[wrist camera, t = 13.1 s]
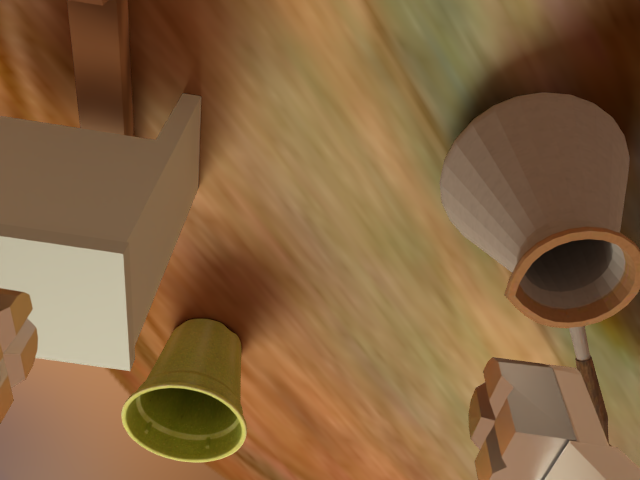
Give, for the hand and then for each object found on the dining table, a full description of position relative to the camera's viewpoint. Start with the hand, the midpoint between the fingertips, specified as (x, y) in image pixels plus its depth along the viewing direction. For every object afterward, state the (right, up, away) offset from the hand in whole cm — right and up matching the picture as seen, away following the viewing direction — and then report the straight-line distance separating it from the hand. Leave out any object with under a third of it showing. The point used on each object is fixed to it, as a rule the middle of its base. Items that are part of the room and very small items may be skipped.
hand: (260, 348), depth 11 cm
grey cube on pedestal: (-13, +9, +30) cm, 34 cm away
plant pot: (-9, -7, +42) cm, 44 cm away
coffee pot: (+16, +4, +33) cm, 37 cm away
